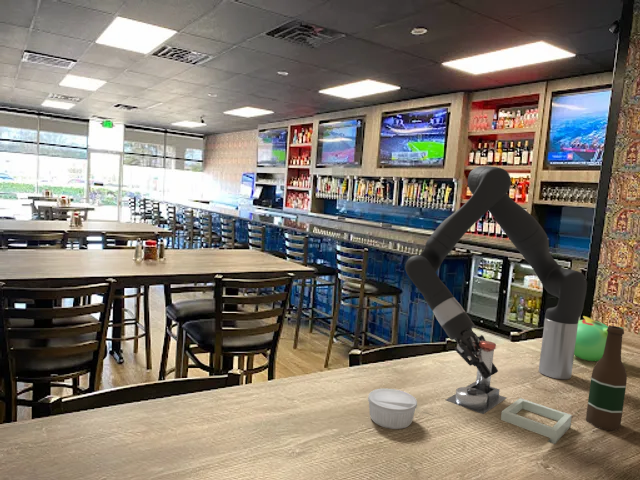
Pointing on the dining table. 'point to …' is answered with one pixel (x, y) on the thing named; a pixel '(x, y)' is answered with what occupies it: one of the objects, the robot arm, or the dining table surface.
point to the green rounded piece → (590, 339)
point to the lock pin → (487, 358)
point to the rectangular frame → (545, 430)
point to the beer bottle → (608, 385)
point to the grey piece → (476, 398)
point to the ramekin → (391, 408)
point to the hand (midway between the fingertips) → (491, 374)
